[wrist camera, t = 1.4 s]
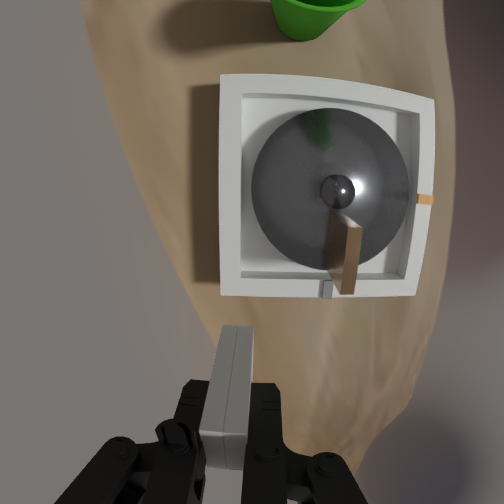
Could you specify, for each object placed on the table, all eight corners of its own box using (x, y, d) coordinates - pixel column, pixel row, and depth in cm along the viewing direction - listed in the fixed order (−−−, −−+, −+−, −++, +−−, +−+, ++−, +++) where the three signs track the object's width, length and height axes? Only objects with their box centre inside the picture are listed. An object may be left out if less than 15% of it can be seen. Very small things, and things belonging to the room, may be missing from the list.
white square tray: (225, 83, 26) (219, 73, 22) (418, 104, 26) (435, 99, 22) (224, 281, 33) (220, 296, 29) (403, 283, 32) (416, 296, 29)
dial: (252, 106, 25) (249, 85, 18) (404, 122, 25) (447, 114, 17) (250, 263, 30) (246, 299, 22) (392, 265, 30) (426, 297, 22)
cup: (312, 71, 25) (336, 30, 15) (242, 29, 24) (233, -24, 14) (354, 23, 23) (388, -22, 13) (288, -16, 22) (296, -71, 11)
